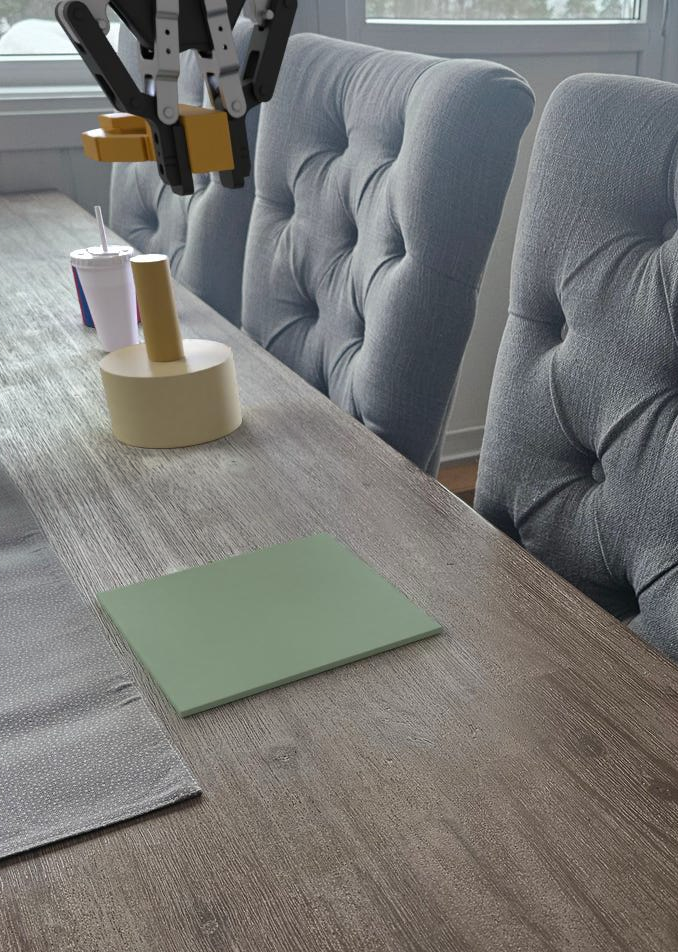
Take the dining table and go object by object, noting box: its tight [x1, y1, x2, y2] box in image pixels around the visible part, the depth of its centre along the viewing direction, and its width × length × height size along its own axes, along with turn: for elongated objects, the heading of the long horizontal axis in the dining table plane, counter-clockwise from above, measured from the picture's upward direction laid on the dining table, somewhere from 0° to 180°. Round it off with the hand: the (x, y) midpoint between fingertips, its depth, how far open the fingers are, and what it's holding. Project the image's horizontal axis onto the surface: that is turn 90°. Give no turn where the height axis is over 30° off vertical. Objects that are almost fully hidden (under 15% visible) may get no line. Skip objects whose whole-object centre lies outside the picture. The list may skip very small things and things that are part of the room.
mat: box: [95, 531, 443, 719], centre depth 69 cm, size 16×16×1 cm
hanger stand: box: [98, 253, 243, 449], centre depth 94 cm, size 11×11×14 cm
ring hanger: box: [80, 103, 234, 175], centre depth 70 cm, size 16×8×3 cm, turn 33°
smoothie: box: [69, 205, 140, 353], centre depth 115 cm, size 6×6×14 cm
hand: (207, 189), depth 66 cm, fingers closed on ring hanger, 2 cm apart
